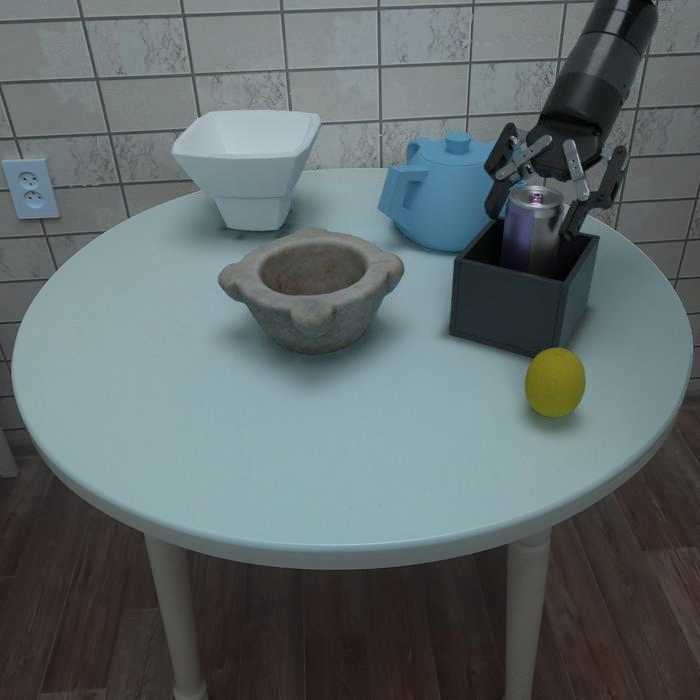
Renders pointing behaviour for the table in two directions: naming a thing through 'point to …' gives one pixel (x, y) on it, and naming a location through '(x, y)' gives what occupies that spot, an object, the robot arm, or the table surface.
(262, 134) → the bowl
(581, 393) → the lemon
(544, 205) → the beverage can
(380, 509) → the table surface
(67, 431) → the table surface
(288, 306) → the mortar
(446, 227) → the teapot
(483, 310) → the open box
